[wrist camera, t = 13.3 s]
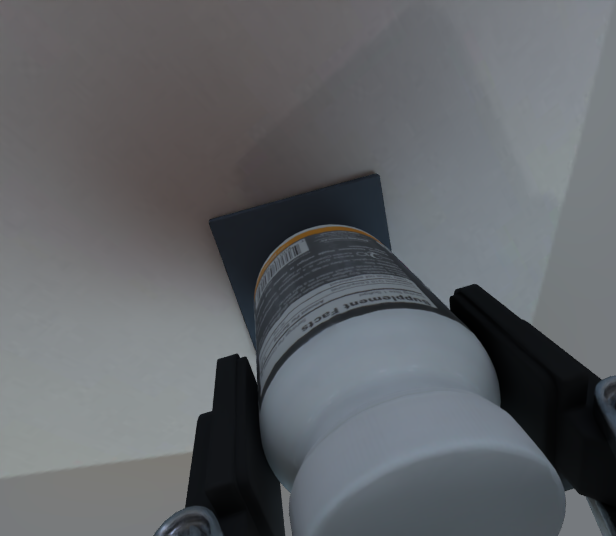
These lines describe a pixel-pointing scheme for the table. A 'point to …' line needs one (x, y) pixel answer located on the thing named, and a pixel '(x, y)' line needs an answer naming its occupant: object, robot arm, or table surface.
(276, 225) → the mat
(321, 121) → the table surface
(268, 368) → the pill bottle
